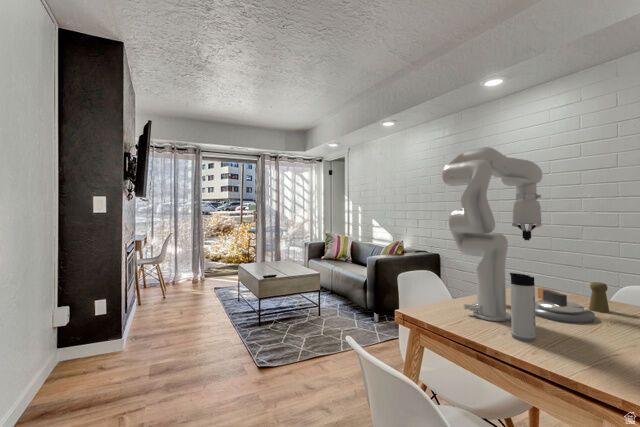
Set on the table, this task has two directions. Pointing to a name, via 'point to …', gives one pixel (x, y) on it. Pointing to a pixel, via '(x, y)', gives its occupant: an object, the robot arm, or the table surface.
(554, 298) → the dial
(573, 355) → the table surface
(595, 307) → the cork
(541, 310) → the dial base
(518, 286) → the travel mug
